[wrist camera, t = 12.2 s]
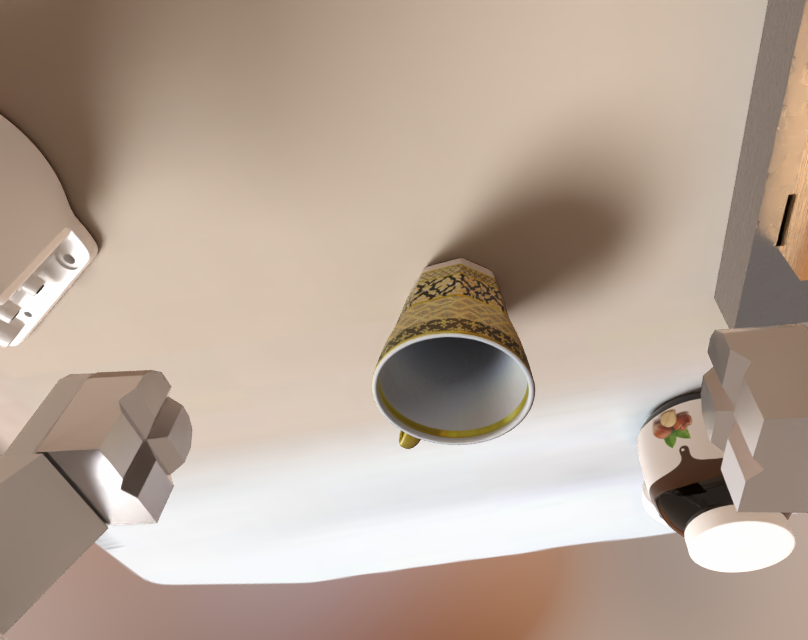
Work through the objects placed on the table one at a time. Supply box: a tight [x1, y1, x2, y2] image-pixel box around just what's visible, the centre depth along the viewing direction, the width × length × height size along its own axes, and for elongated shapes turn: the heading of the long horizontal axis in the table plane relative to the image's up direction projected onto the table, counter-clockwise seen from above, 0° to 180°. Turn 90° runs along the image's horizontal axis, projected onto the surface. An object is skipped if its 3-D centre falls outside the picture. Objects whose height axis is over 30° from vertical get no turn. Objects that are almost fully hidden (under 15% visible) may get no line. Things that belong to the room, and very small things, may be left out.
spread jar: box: [637, 392, 796, 572], centre depth 48 cm, size 12×11×12 cm
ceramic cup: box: [372, 258, 535, 449], centre depth 42 cm, size 13×10×10 cm
